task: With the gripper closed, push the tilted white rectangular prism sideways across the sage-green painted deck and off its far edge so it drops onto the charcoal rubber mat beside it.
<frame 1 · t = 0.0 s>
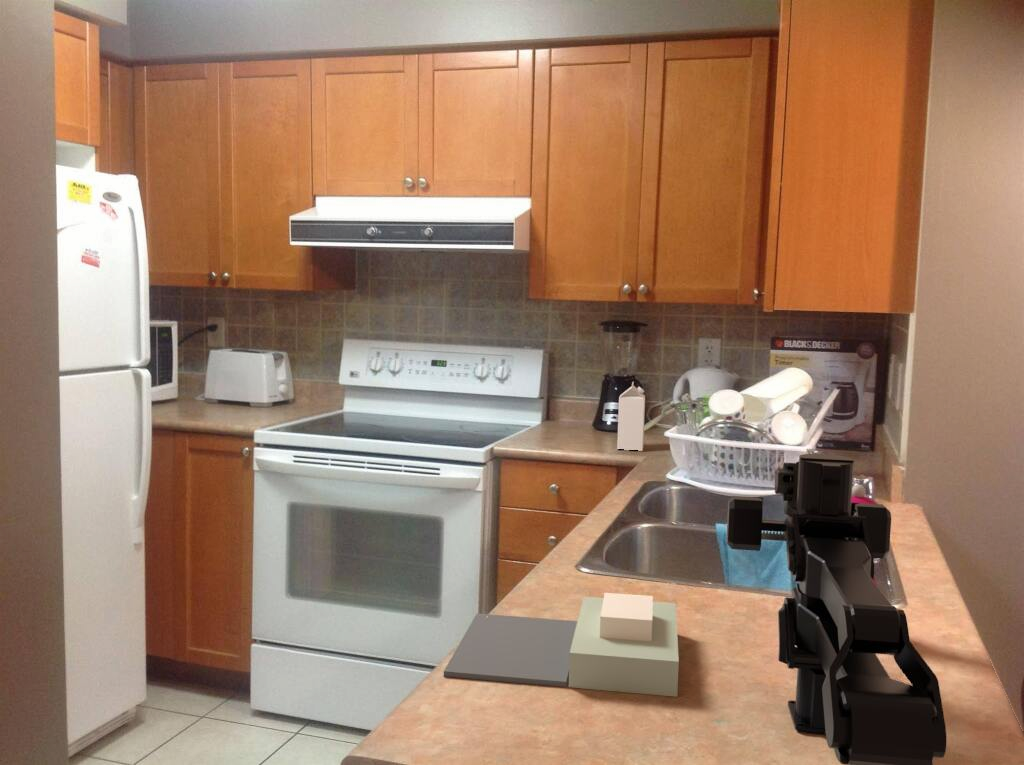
hand: (796, 511, 123), 17 cm above the worktop, tool horizontal, fingers open, 9 cm apart
pepper mill: (849, 635, 126), on the worktop
milk carton: (630, 449, 271), on the worktop
mat: (517, 649, 117), on the worktop
tilted white rectangular prism: (627, 616, 115), point 5 cm above the worktop, touching deck
deck: (625, 658, 115), on the worktop
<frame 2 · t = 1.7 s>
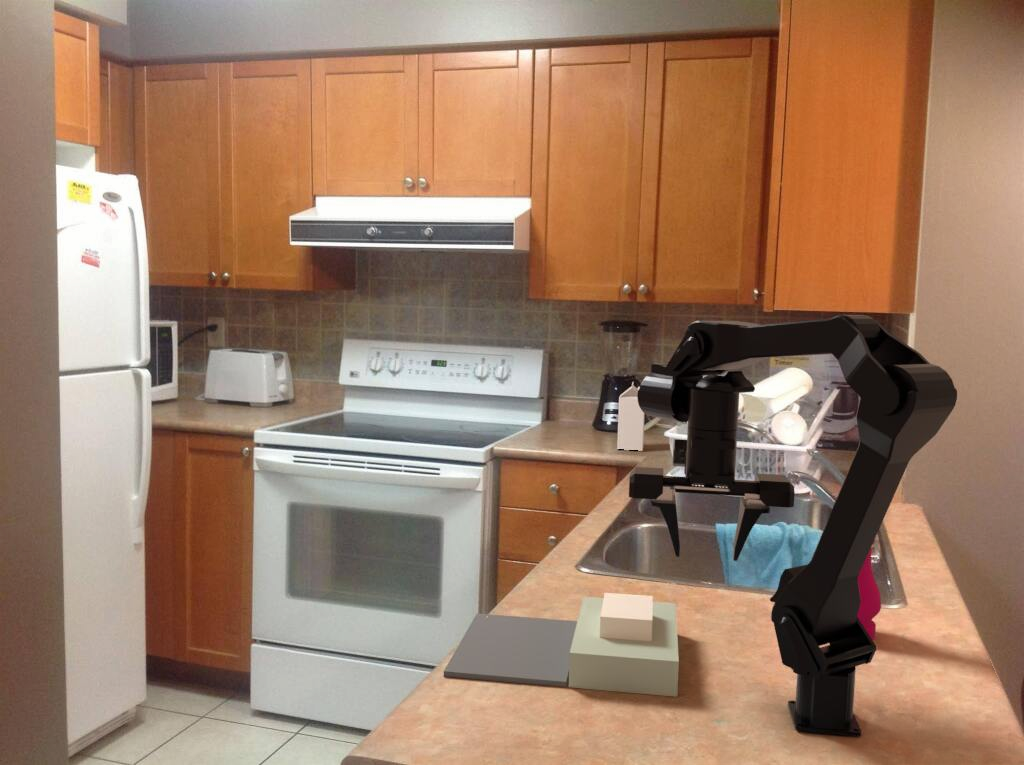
hand: (706, 557, 113), 13 cm above the worktop, tool pointing down, fingers open, 6 cm apart
nothing on the worktop moved.
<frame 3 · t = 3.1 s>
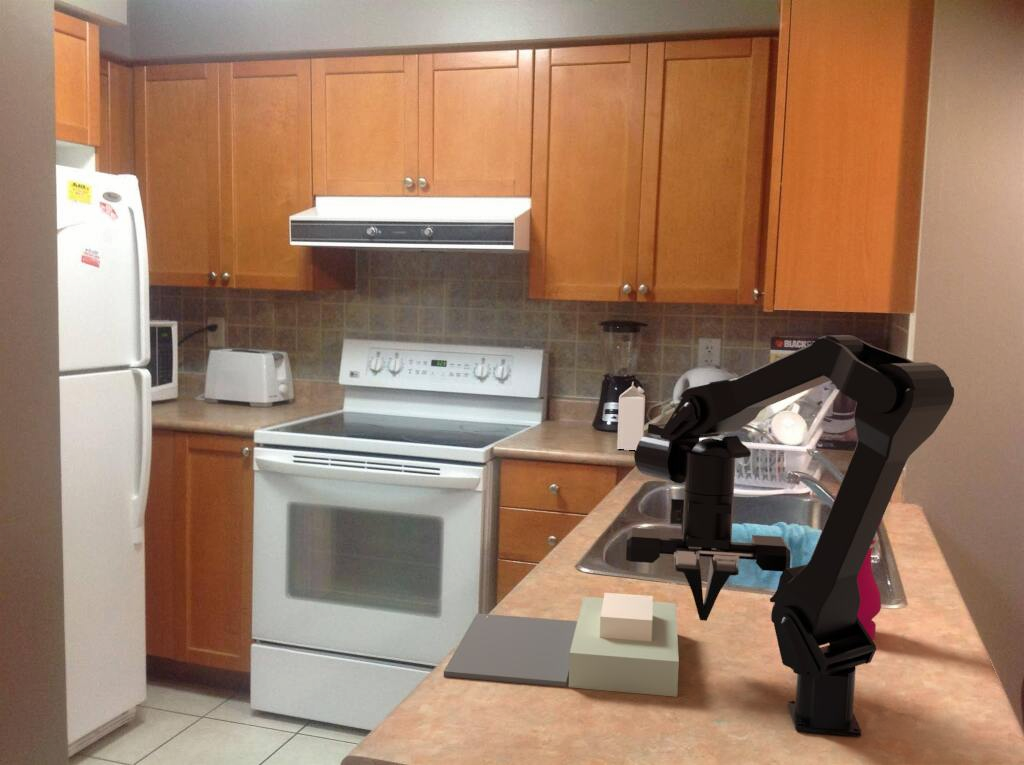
hand: (703, 619, 114), 6 cm above the worktop, tool pointing down, fingers closed
nothing on the worktop moved.
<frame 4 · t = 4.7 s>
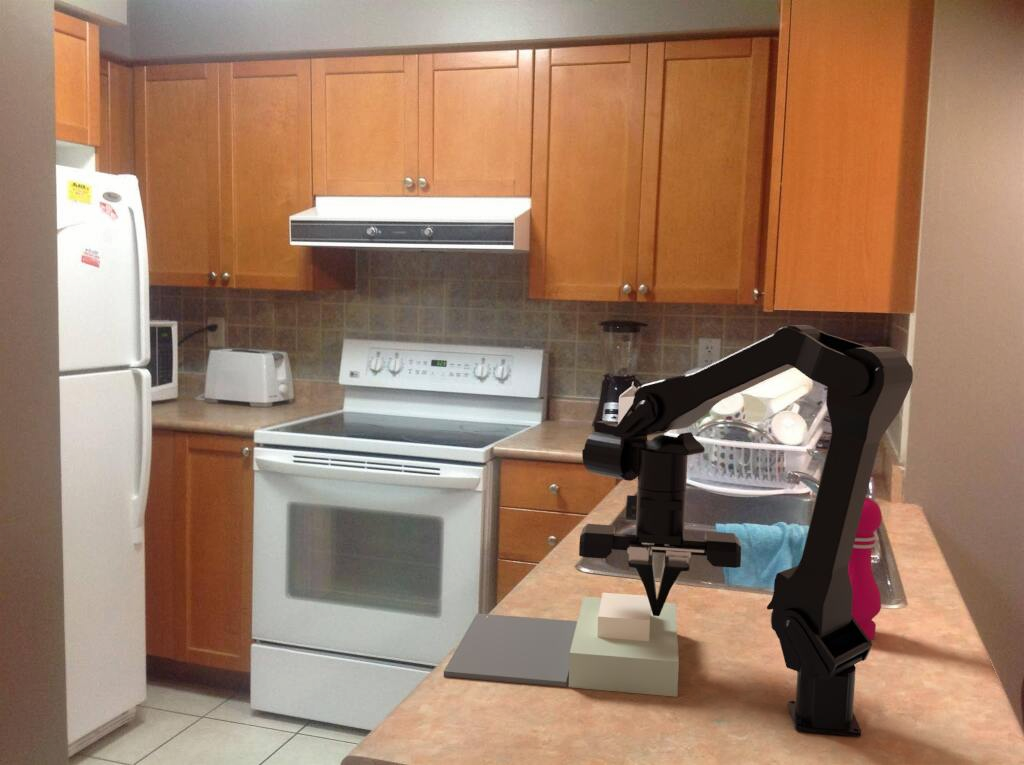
hand: (656, 614, 114), 6 cm above the worktop, tool pointing down, fingers closed
tilted white rectangular prism: (624, 615, 115), point 5 cm above the worktop, touching deck, gripper
everything else where it was.
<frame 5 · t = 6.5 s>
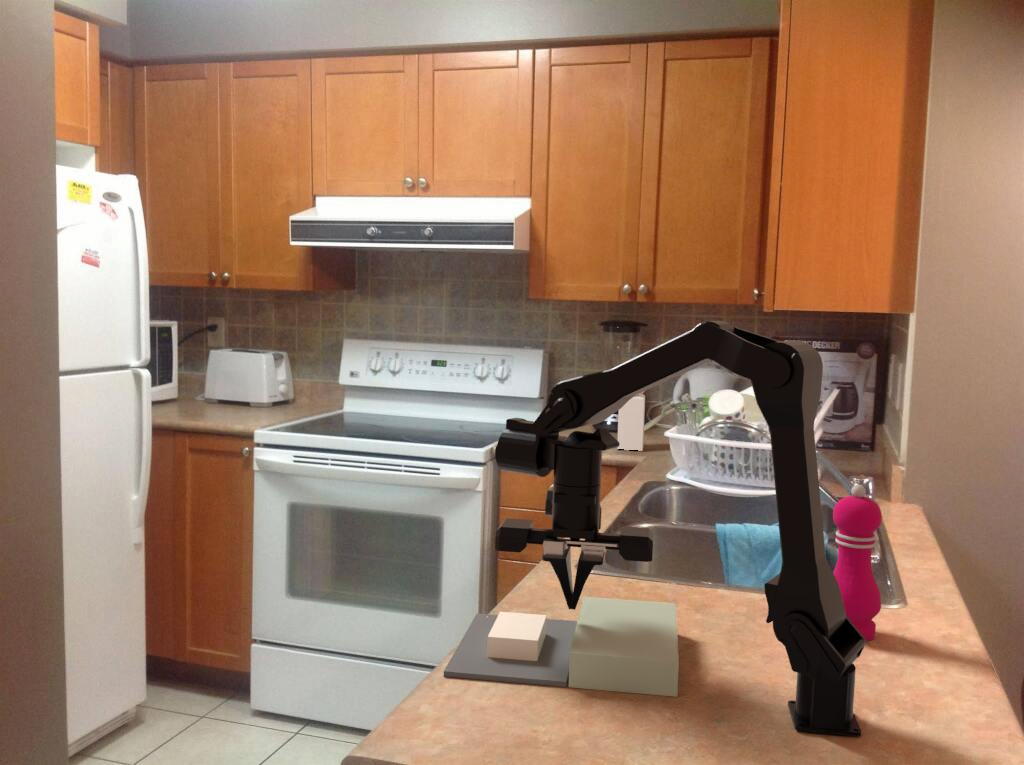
hand: (572, 608, 116), 6 cm above the worktop, tool pointing down, fingers closed
tilted white rectangular prism: (517, 635, 117), point 2 cm above the worktop, tilted 180°, touching mat
everything else where it was.
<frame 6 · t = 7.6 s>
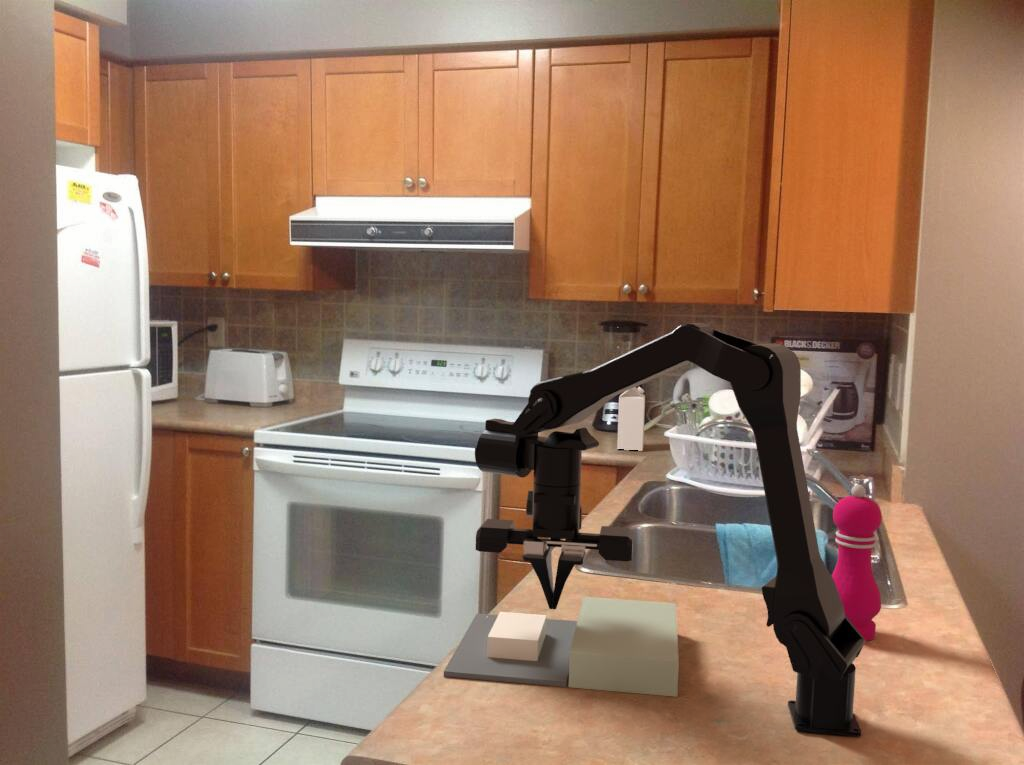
hand: (553, 608, 116), 6 cm above the worktop, tool pointing down, fingers closed
nothing on the worktop moved.
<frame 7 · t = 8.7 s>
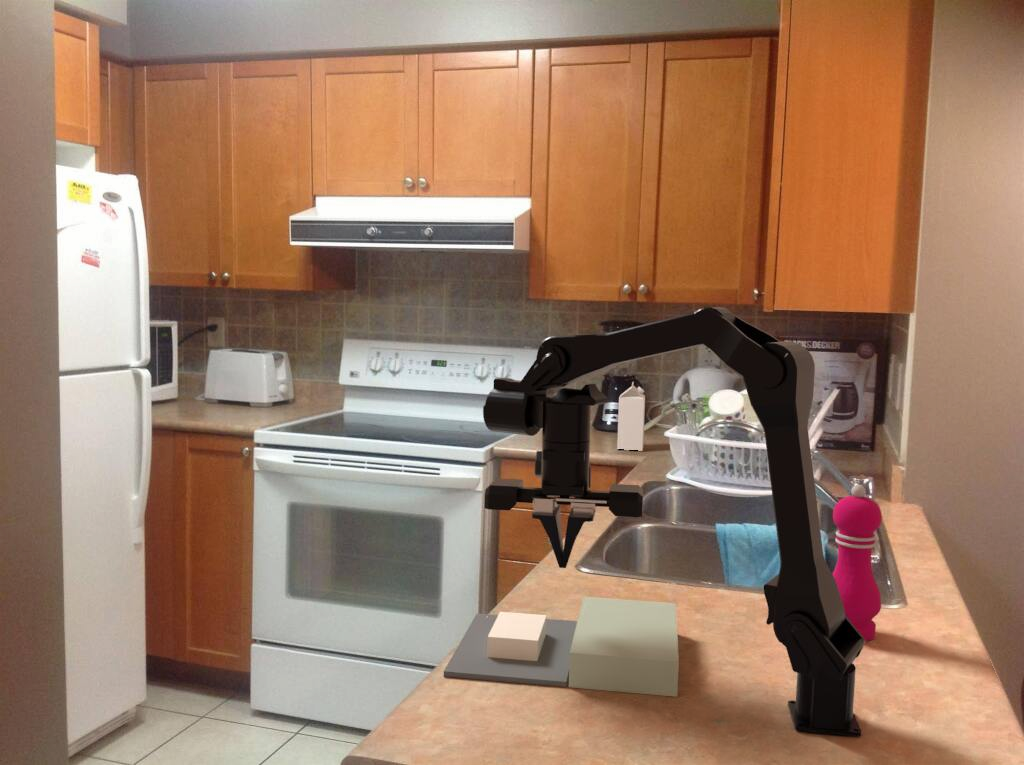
hand: (562, 567, 115), 11 cm above the worktop, tool pointing down, fingers closed
nothing on the worktop moved.
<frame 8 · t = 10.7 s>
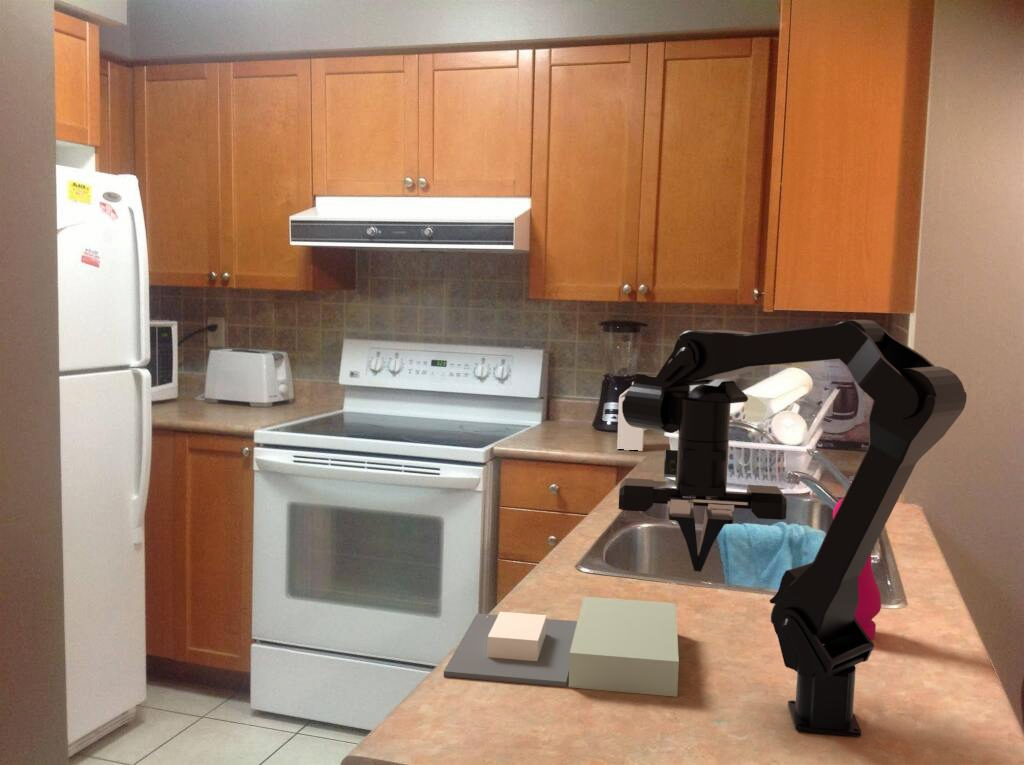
hand: (697, 570, 111), 12 cm above the worktop, tool pointing down, fingers closed
nothing on the worktop moved.
at the end: tilted white rectangular prism point 1.8 cm above the worktop; tilted white rectangular prism inside the target area (0.4 cm from its centre), point 1.8 cm above the worktop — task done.
